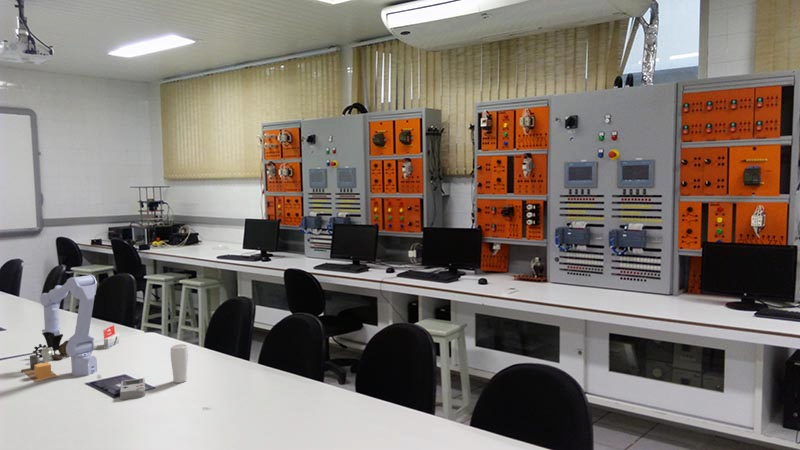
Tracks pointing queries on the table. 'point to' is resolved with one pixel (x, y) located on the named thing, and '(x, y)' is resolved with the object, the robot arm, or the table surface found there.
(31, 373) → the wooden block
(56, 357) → the brown rounded piece
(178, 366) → the drinking glass
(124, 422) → the table surface
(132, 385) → the handheld gaming device
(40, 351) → the valve
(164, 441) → the table surface
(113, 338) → the ink cartridge box
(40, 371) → the cube
